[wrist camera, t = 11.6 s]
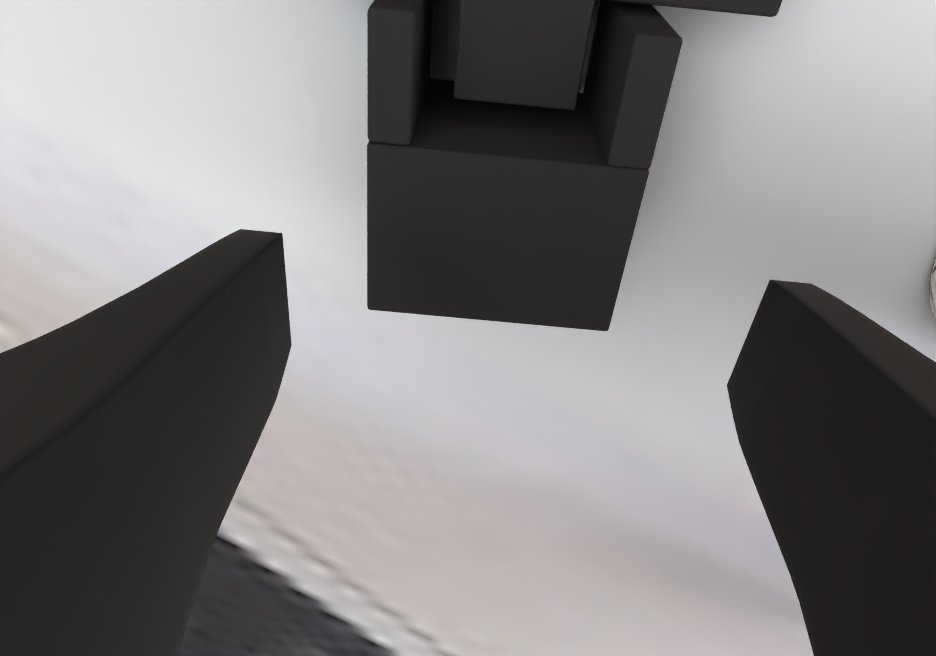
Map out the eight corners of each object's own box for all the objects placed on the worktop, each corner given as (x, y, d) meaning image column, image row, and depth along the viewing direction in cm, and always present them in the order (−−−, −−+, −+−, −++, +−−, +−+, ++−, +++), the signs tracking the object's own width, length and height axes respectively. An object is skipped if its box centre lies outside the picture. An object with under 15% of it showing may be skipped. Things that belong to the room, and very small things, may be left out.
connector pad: (586, 234, 18) (608, 332, 15) (392, 216, 18) (366, 310, 15) (639, -12, 15) (684, 38, 11) (398, -36, 15) (366, 6, 11)
